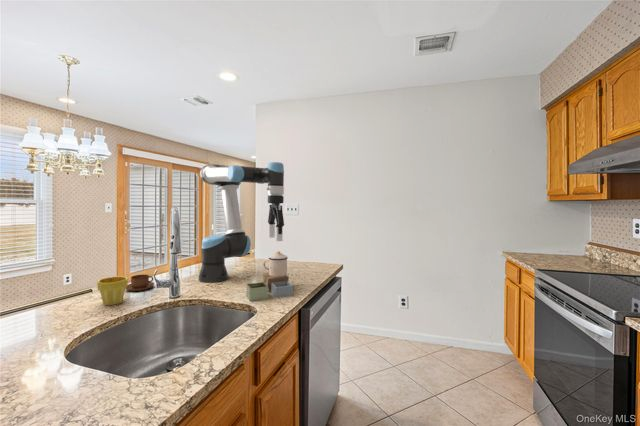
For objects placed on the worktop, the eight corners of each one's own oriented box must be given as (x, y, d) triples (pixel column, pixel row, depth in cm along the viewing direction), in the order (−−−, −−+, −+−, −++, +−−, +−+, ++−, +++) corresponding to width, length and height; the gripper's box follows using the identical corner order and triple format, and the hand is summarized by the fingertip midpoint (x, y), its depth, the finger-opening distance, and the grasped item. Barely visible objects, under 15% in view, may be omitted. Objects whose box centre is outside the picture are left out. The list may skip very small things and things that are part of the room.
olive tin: (246, 297, 133) (246, 283, 133) (264, 295, 136) (264, 282, 136) (249, 302, 126) (249, 288, 125) (268, 300, 129) (268, 286, 129)
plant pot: (131, 302, 124) (130, 279, 124) (101, 308, 117) (100, 284, 116) (124, 296, 131) (123, 274, 131) (95, 302, 124) (94, 279, 123)
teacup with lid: (288, 272, 149) (289, 249, 149) (285, 277, 140) (285, 253, 140) (265, 272, 150) (265, 249, 150) (260, 276, 141) (260, 252, 141)
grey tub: (271, 293, 139) (271, 282, 138) (287, 291, 142) (287, 281, 142) (275, 298, 131) (275, 287, 131) (292, 296, 134) (293, 285, 134)
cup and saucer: (140, 284, 151) (140, 272, 150) (160, 286, 148) (159, 274, 147) (118, 291, 139) (118, 278, 139) (139, 294, 136) (139, 280, 136)
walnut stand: (263, 287, 148) (263, 273, 147) (282, 285, 152) (282, 271, 151) (267, 293, 138) (267, 278, 138) (288, 291, 142) (288, 276, 142)
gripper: (262, 195, 153) (261, 236, 153) (274, 194, 130) (274, 243, 131) (276, 195, 156) (276, 235, 156) (291, 194, 133) (291, 242, 134)
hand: (275, 239), depth 144 cm, fingers open, 13 cm apart
